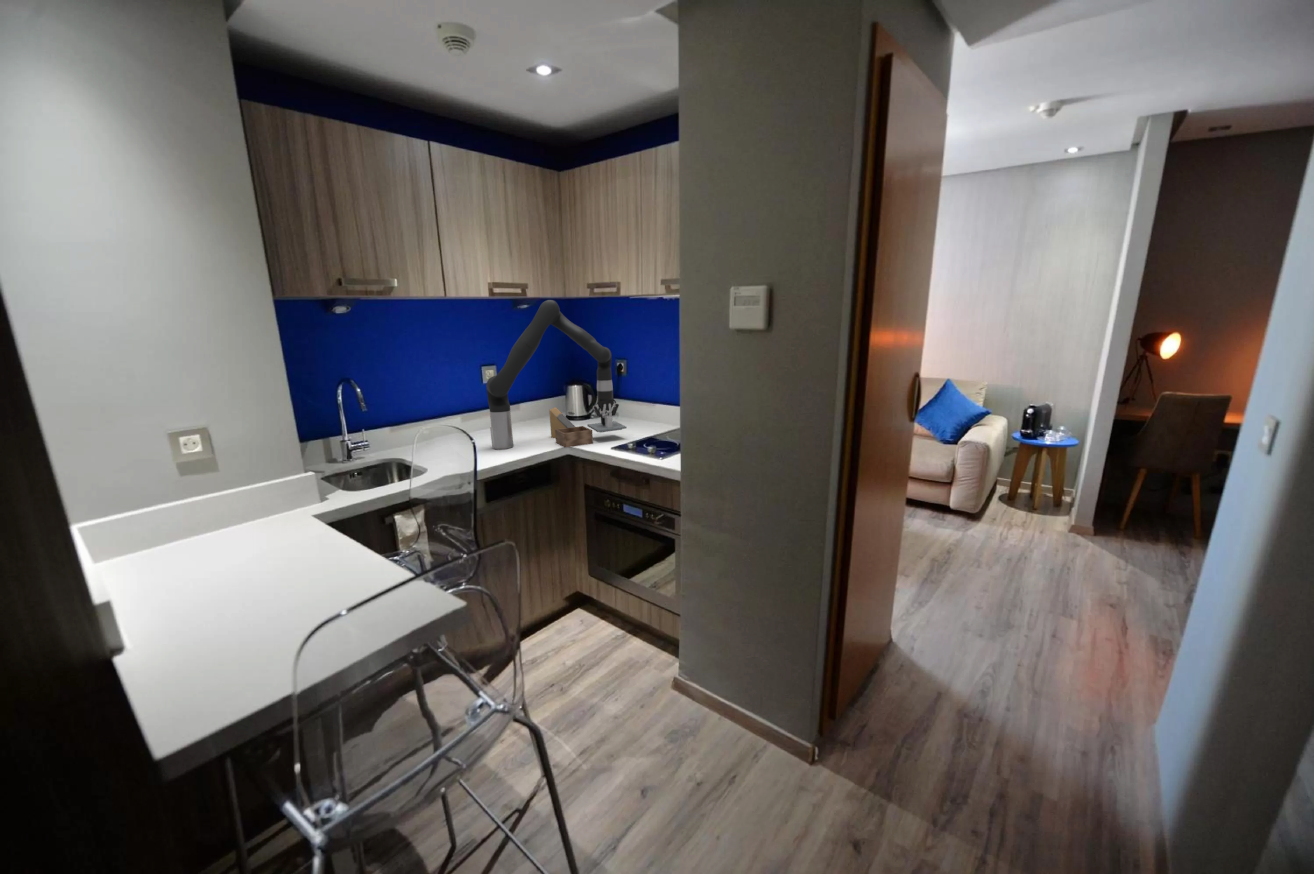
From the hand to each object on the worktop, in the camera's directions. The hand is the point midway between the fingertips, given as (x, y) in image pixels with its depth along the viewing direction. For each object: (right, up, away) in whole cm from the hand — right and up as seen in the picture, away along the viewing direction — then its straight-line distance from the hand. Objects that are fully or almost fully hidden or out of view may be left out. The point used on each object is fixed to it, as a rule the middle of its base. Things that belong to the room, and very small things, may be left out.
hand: (606, 424), depth 255 cm
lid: (0, -2, 0) cm, 2 cm away
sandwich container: (-20, -6, +9) cm, 23 cm away
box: (-15, -9, -7) cm, 19 cm away
